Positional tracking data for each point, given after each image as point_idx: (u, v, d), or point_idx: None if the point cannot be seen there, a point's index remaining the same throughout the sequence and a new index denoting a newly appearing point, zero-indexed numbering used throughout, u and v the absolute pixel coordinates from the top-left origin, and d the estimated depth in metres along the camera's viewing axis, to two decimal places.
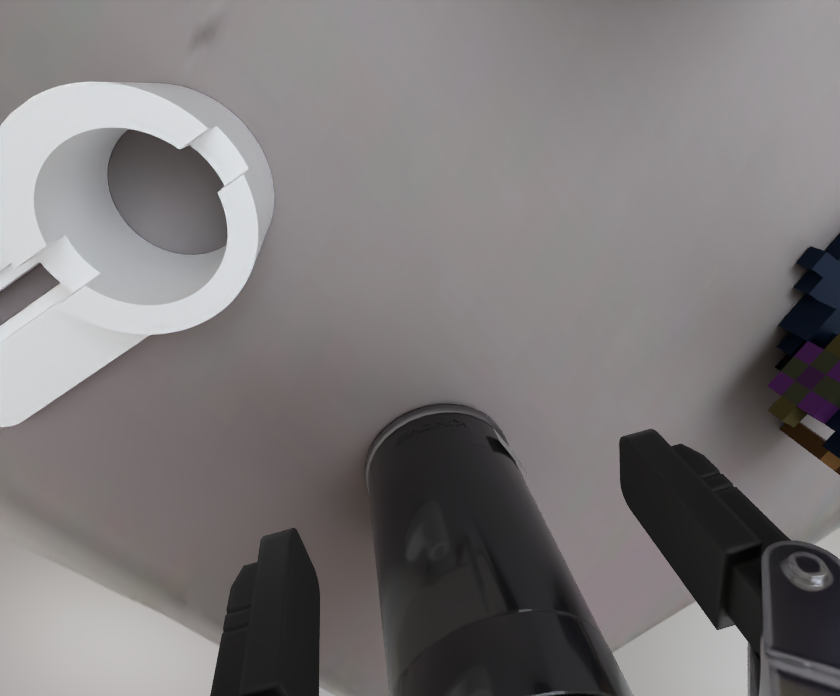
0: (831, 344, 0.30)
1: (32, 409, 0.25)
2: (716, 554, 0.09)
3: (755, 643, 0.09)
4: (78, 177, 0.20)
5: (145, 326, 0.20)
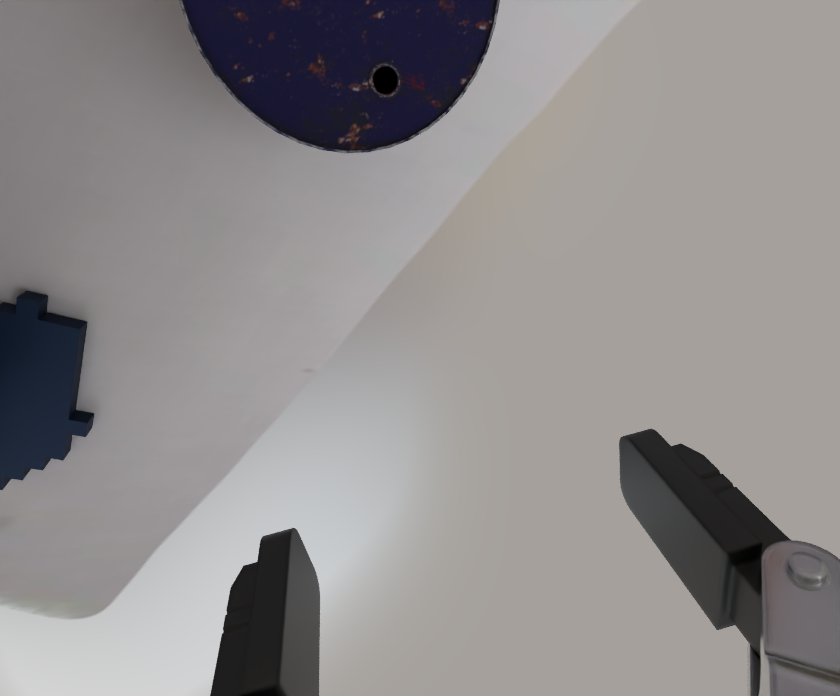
0: None
1: None
2: (716, 554, 0.09)
3: (755, 644, 0.09)
4: None
5: None
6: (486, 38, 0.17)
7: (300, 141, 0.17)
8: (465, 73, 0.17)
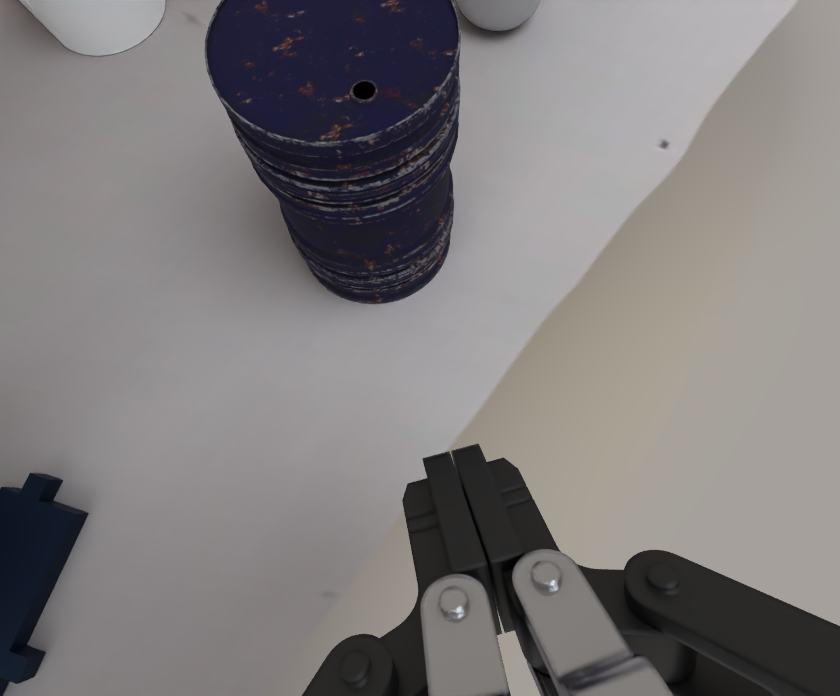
0: None
1: None
2: (489, 563, 0.10)
3: (521, 645, 0.10)
4: None
5: None
6: (453, 60, 0.19)
7: (284, 138, 0.18)
8: (438, 83, 0.19)
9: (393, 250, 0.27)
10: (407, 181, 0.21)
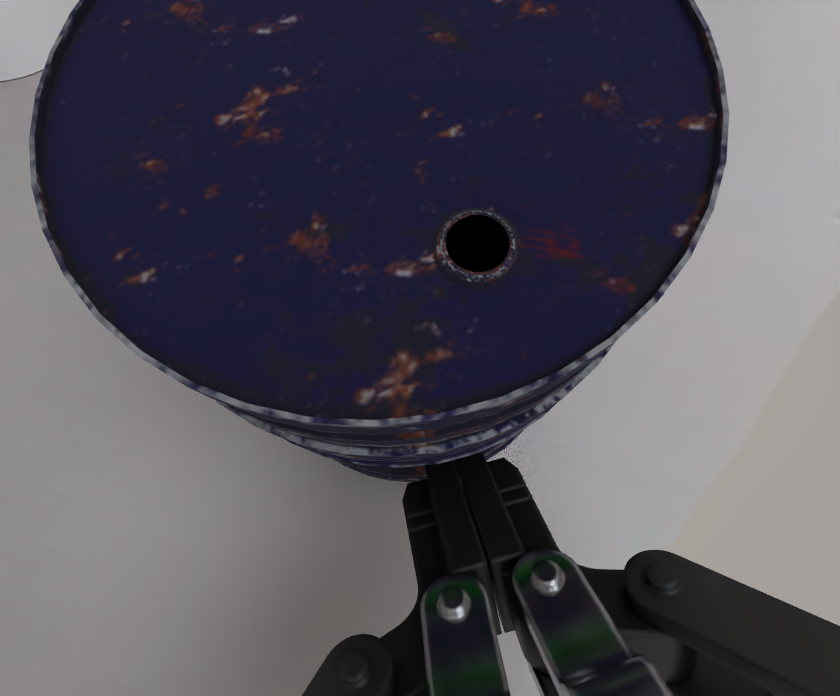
0: None
1: None
2: (489, 563, 0.10)
3: (521, 645, 0.10)
4: None
5: None
6: (713, 143, 0.07)
7: (249, 406, 0.06)
8: (681, 214, 0.07)
9: None
10: (546, 408, 0.09)
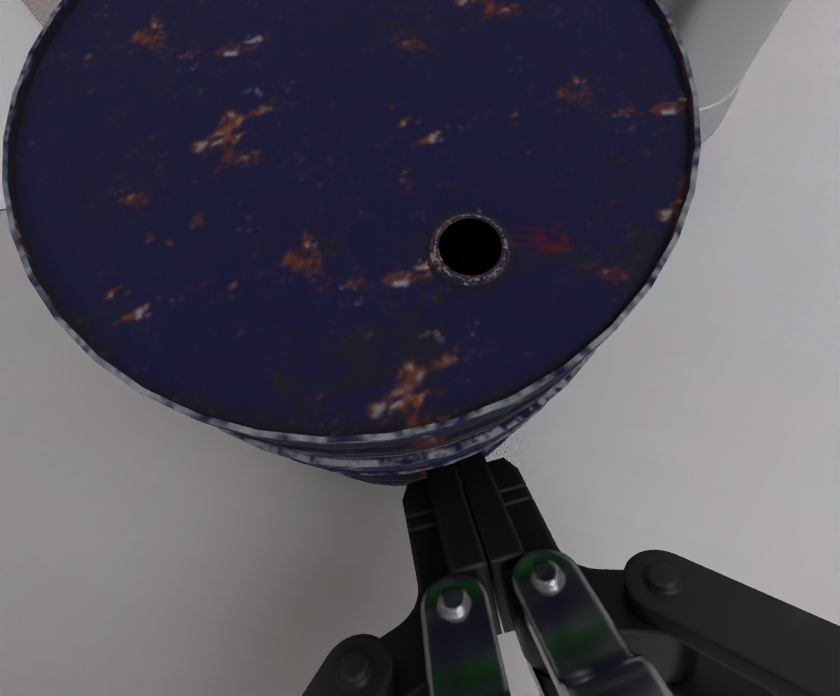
0: None
1: None
2: (489, 563, 0.10)
3: (520, 645, 0.10)
4: None
5: None
6: (686, 127, 0.07)
7: (262, 432, 0.06)
8: (664, 198, 0.07)
9: None
10: None
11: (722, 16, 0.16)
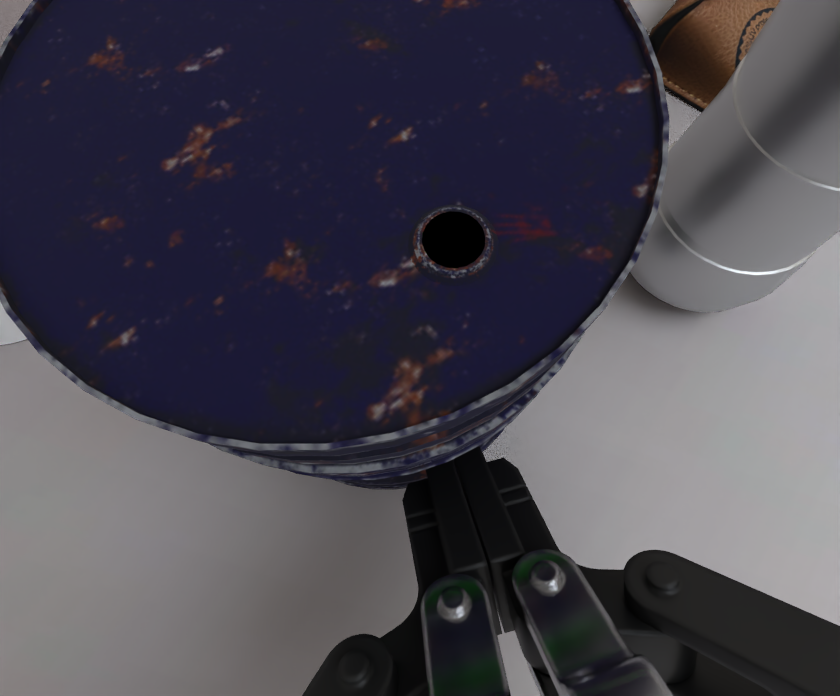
0: None
1: None
2: (489, 563, 0.10)
3: (521, 645, 0.10)
4: None
5: None
6: (652, 103, 0.07)
7: (264, 445, 0.06)
8: (639, 175, 0.07)
9: None
10: None
11: (824, 205, 0.14)
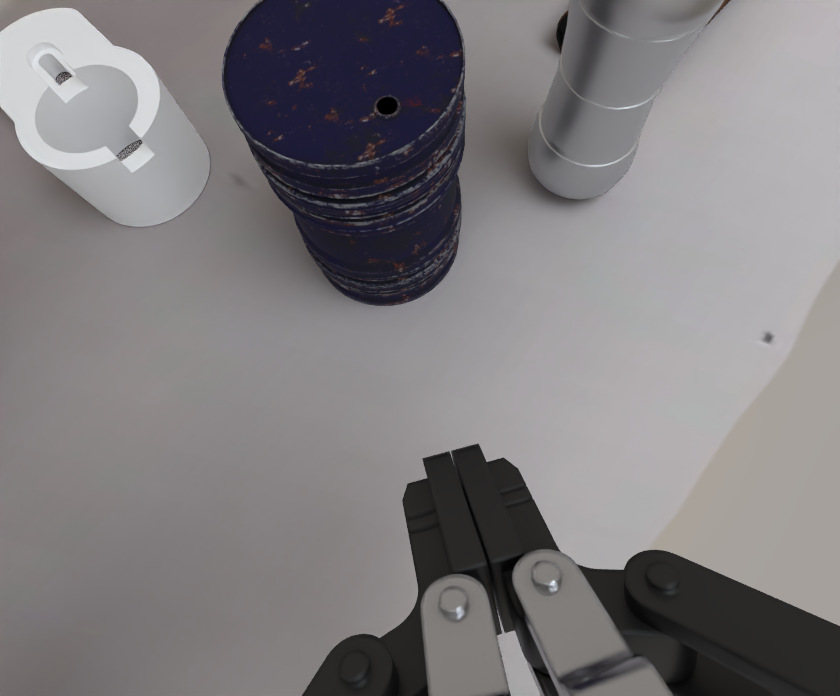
0: None
1: None
2: (489, 563, 0.10)
3: (521, 645, 0.10)
4: (135, 106, 0.35)
5: (20, 115, 0.31)
6: (461, 60, 0.20)
7: (325, 166, 0.19)
8: (453, 85, 0.20)
9: (419, 248, 0.28)
10: (434, 182, 0.22)
11: (606, 117, 0.27)
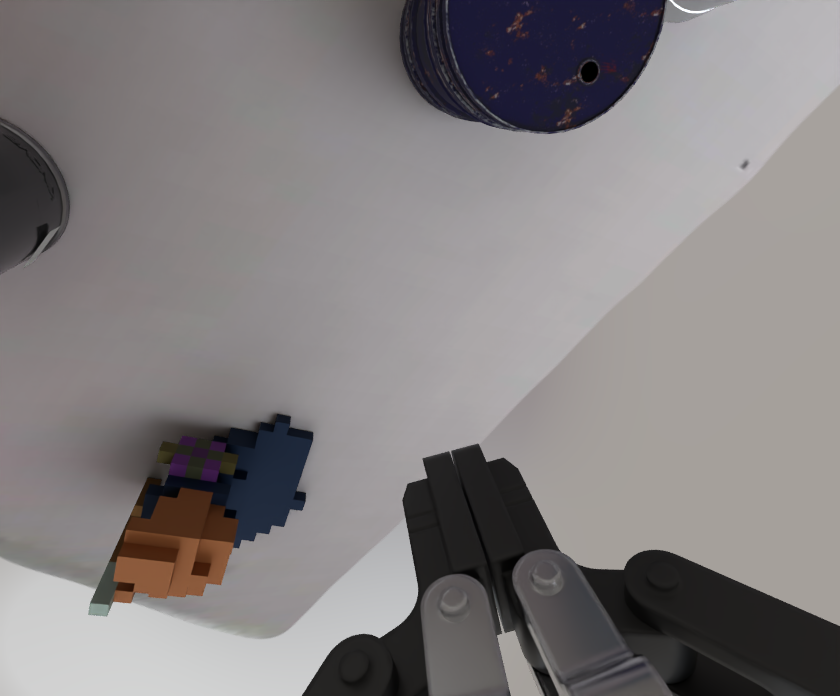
0: (229, 454, 0.42)
1: None
2: (489, 563, 0.10)
3: (521, 645, 0.10)
4: None
5: None
6: (659, 21, 0.22)
7: (531, 131, 0.24)
8: (645, 51, 0.23)
9: None
10: None
11: None
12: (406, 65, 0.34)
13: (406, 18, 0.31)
